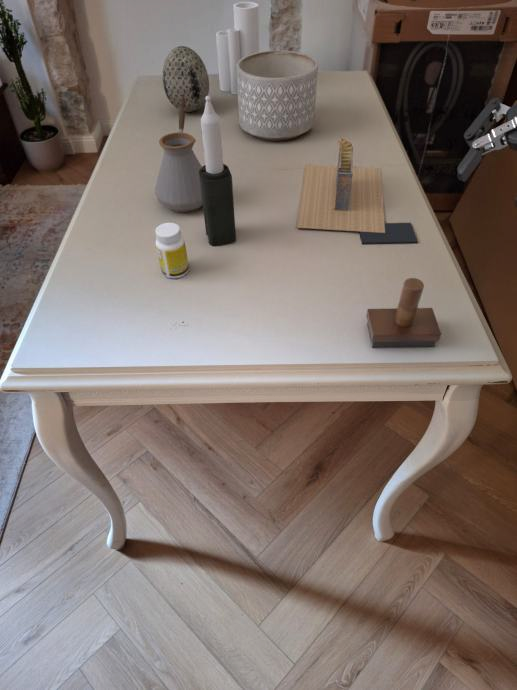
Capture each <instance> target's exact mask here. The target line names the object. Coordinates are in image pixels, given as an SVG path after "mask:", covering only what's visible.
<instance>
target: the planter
mask: <svg viewBox="0 0 517 690" xmlns="http://www.w3.org/2000/svg"><path fill="white" fill-rule="evenodd" d="M236 69H237V89H238V95H237V106H238V125H239V126H240V128H241V129H242V130H243V131H245V132H246V133H247V134H250V135H252V136H253V137H256V138H257V139H261V140H267V141H286V140H291V139H295V138H297V137H300V136H301V135H303V134H305V133H307V132H308V131H310V130H311V129H312V128H313V126H314V125H315V119H316V118H315V117H316V100H317V87H318V86H317V85H318V70H319V62H318V60H317V59H316V58H314V57H313V56H311V55H309V54H307V53H302V52H300V51H293V50H283V49H282V50H279V49H278V50H265V51H259V52H258V53H253V54H250V55H247V56H245V57H243V58H241V59H240V60H239V61H238V62H237V65H236Z"/></svg>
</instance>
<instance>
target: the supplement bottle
mask: <svg viewBox="0 0 517 690" xmlns="http://www.w3.org/2000/svg"><path fill="white" fill-rule="evenodd" d="M154 232H155V238H156V239H155V248H156V253H157V257H158V262H159V266H160V270H161V273H162V275H163V276H164V277H166V278H168V279H181V278H182V277H184V276H186V275H187V274H188V273H189V270H190V265H189V258H188V253H187V246H186V241H185V237H184V236H183V235H182V231H181V227H180V225H178V224H177V223H175V222H164V223H161V224H160V225H158V226H157V227H156V228H155V231H154Z"/></svg>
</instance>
